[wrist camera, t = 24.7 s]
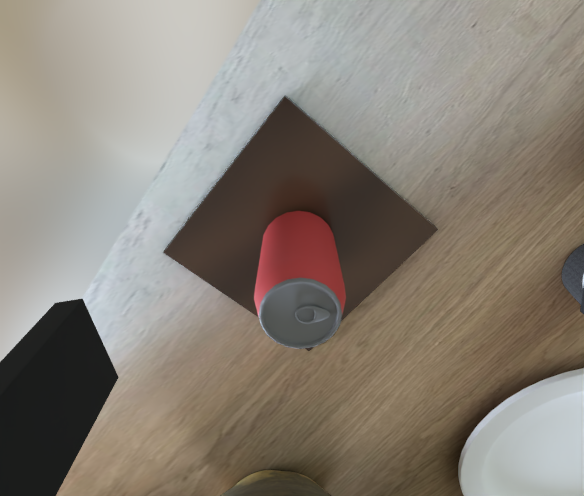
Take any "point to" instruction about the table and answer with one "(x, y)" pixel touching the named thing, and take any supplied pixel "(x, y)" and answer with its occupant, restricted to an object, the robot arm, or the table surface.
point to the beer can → (299, 281)
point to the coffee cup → (574, 273)
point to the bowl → (276, 485)
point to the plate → (529, 443)
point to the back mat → (298, 197)
